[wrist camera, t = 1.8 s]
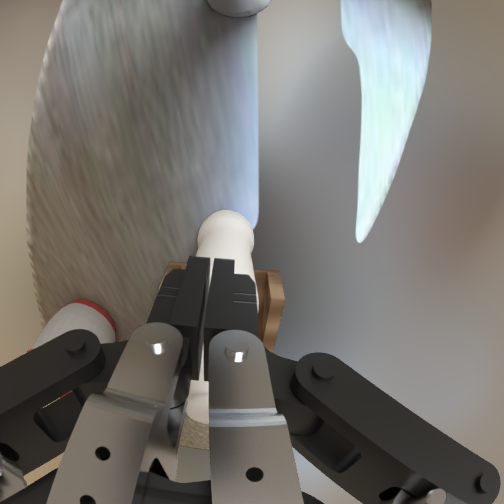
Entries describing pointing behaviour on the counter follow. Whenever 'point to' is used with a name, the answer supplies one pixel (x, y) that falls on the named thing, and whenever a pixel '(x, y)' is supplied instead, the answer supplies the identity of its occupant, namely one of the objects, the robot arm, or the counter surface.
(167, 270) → the brown wooden open box
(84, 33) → the counter surface
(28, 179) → the counter surface
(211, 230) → the bottle
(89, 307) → the citrus juicer
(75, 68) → the counter surface
